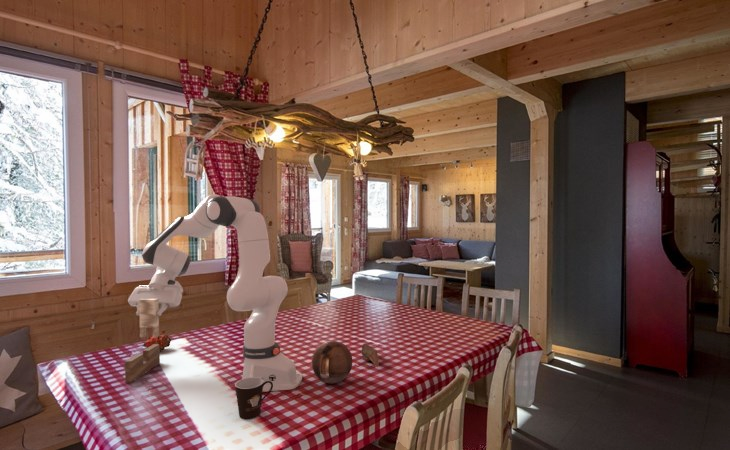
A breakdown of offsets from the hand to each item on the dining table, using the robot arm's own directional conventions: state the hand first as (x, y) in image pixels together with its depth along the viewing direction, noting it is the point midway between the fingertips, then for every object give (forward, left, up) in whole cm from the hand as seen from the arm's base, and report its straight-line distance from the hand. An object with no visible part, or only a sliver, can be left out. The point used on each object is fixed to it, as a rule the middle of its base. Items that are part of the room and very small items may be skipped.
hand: (148, 314), depth 161 cm
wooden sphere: (-74, +9, -23) cm, 78 cm away
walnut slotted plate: (+3, -1, -23) cm, 23 cm away
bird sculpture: (-88, -11, -24) cm, 92 cm away
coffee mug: (-52, +33, -23) cm, 66 cm away
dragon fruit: (+11, -26, -24) cm, 37 cm away
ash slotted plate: (0, -1, -9) cm, 9 cm away
